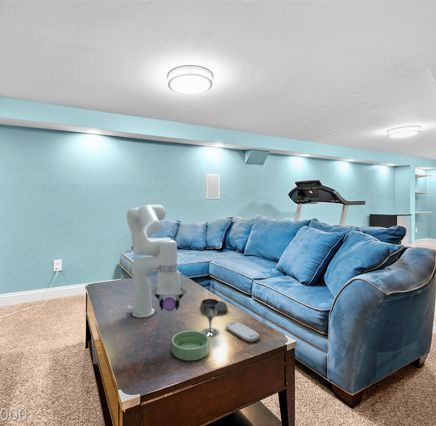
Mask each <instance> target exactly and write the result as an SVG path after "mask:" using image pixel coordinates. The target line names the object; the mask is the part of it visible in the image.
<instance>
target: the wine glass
mask: <svg viewBox="0 0 436 426" xmlns="http://www.w3.org/2000/svg"><path fill="white" fill-rule="evenodd" d="M218 301H219V300H218V299H214V298H204V299H203V300H201V303H202V310H203V313H202V314H203V315H204V317H206V319H207V320H208V325H209V328H206V329H204V330H203V331H202V333H204V334H206V335H207V336H208V337H214V336H217V335H218V334H219V331H218V330H217V329H214V328H212V321H213V320H214V318H215V317H216V316H217V315H218V314H217V312H218ZM202 310H201V311H202Z"/></svg>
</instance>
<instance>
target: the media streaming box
mask: <svg viewBox="0 0 436 426" xmlns="http://www.w3.org/2000/svg"><path fill="white" fill-rule="evenodd" d="M217 301H218V312H217V314H216V315H225V314H227V313H228V305H227V304H226V302H225V301H221V300H217ZM200 310H201V313H202V314H203V310H202V302H200Z"/></svg>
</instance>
